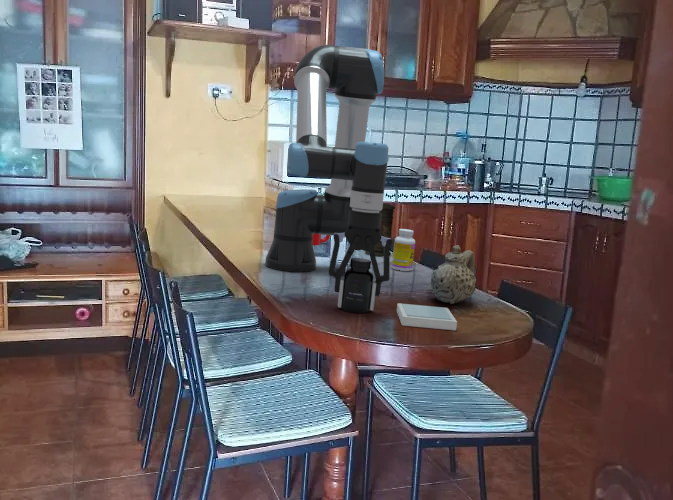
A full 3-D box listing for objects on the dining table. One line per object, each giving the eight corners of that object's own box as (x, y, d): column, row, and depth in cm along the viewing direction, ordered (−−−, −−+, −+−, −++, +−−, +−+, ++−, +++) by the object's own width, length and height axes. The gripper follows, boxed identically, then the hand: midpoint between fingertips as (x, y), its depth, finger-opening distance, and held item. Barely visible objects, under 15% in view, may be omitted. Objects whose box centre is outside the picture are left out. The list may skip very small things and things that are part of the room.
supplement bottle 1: (349, 314, 149) (354, 262, 147) (335, 306, 155) (340, 256, 153) (375, 313, 152) (380, 262, 150) (360, 305, 158) (365, 256, 156)
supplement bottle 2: (411, 272, 206) (415, 232, 204) (390, 269, 208) (394, 229, 205) (412, 269, 213) (417, 230, 211) (392, 266, 214) (397, 227, 212)
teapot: (456, 313, 160) (464, 252, 158) (413, 303, 166) (420, 244, 163) (486, 299, 178) (493, 245, 176) (446, 291, 184) (453, 238, 181)
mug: (333, 245, 244) (335, 225, 243) (304, 245, 239) (306, 223, 238) (324, 242, 251) (326, 221, 250) (296, 241, 246) (297, 220, 245)
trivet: (401, 325, 144) (403, 315, 144) (396, 311, 156) (397, 302, 155) (456, 330, 144) (457, 320, 144) (446, 316, 156) (447, 306, 156)
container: (361, 254, 232) (367, 203, 229) (370, 251, 240) (375, 202, 238) (385, 257, 229) (391, 206, 226) (393, 254, 237) (399, 205, 234)
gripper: (322, 207, 146) (312, 307, 150) (410, 216, 146) (398, 315, 150) (322, 204, 153) (313, 299, 157) (406, 212, 154) (395, 307, 157)
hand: (355, 307), depth 154 cm, fingers closed on supplement bottle 1, 7 cm apart
